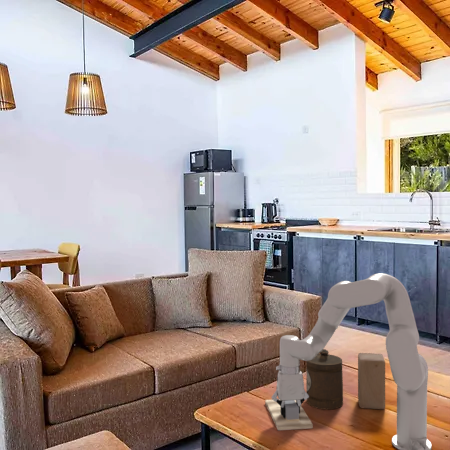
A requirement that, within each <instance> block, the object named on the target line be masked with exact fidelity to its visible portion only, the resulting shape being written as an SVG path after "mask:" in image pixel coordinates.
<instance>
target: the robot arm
mask: <svg viewBox="0 0 450 450" xmlns="http://www.w3.org/2000/svg"><path fill="white" fill-rule="evenodd" d="M408 293H409V292H408V291H407V289H406V287H405V286H404V284H403V283H402V282H401V281H400V280H399V279H397V278H396V277H394V276H392V275H391V274H387V273H382V272H381V273H378V272H377V273H374V274H371V275H370V276H369V277H367V278H365V279H360V280H356V281H353V282H352V281H349V280H342V281H339V282H337V283H335V284H334V285H333V286H331V287H330V289H329V290H328V293H327V298H326V300H325V302H324V303H323V304H322V306H321V308H320V309H319V311H318V313H317V316H318V318H317V321H316V323H315V325H314V326H313V328H312V329H311V331H310V332H309V333H308V335H307V336H306V337H305V338H302V339H300V338H299V337H298V336H297V335H293V334H292V335H291V334H286V335H282V336H281V337H280V339H279V365H277V366H275V368H276V369H275V370H276V371H278V372H277V378H276V388H275V389H276V390H275V391H274V392H273V394H272V395H271V400H274V401H275V402H277V403H278V404H279V405H280V406H281V415H282V416H283V417H284V418H285V417H286V414H285V401H288V400H296V404H297V405H298V407H299V414H300V406H301V407H302V405H303V403H304V402H305V401H307V398H308V397H309V395H308V394H307V392H306V390H305V380H304V376H303V372H302V371H301V361H304V362H305V361H310V360H312V359H314V358H315V357H316V356H317V355H318V354H321V353H320V352H321V351H322V350H323V349H325V347H326V346H327V344H328V343H329V342H330V340H331V339H332V337H333V336H334V334H335V332H336V330H337V329H338V328H339V326H340V325H341V323H342V321H343V320H344V318H345V317H346V315H347V314H348V312H349V311H350V310H351V309H354V308H359V307H362V306H363V307H365V306H370V305H375V304H377V303H380V302H382V301H383V302H384V307H385V313H386V318H387V322H388V326H389V331H388V333H387V334H386V337H385V349H386V354H387V357H388V361H389V367H390V372H391V376H392V378H393V381H394V383H395V385H396V434H395V435H393V436H392V437H391V444H392V445H393V447H395V449H397V450H432V442H431V441H430V440H429V439H428V438H427V435H428V434H427V432H428V428H427V426H428V425H427V422H428V420H427V419H428V405H427V404H428V380H429V365H428V362H427V361H426V359H425V357H424V356H423V355H421V354H420V353H419V350H418V344H419V341H420V334H419V331H418V327H417V323H416V319H415V314H414V311H413V307H412V304H411V300H410V296H409V294H408Z"/></svg>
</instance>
